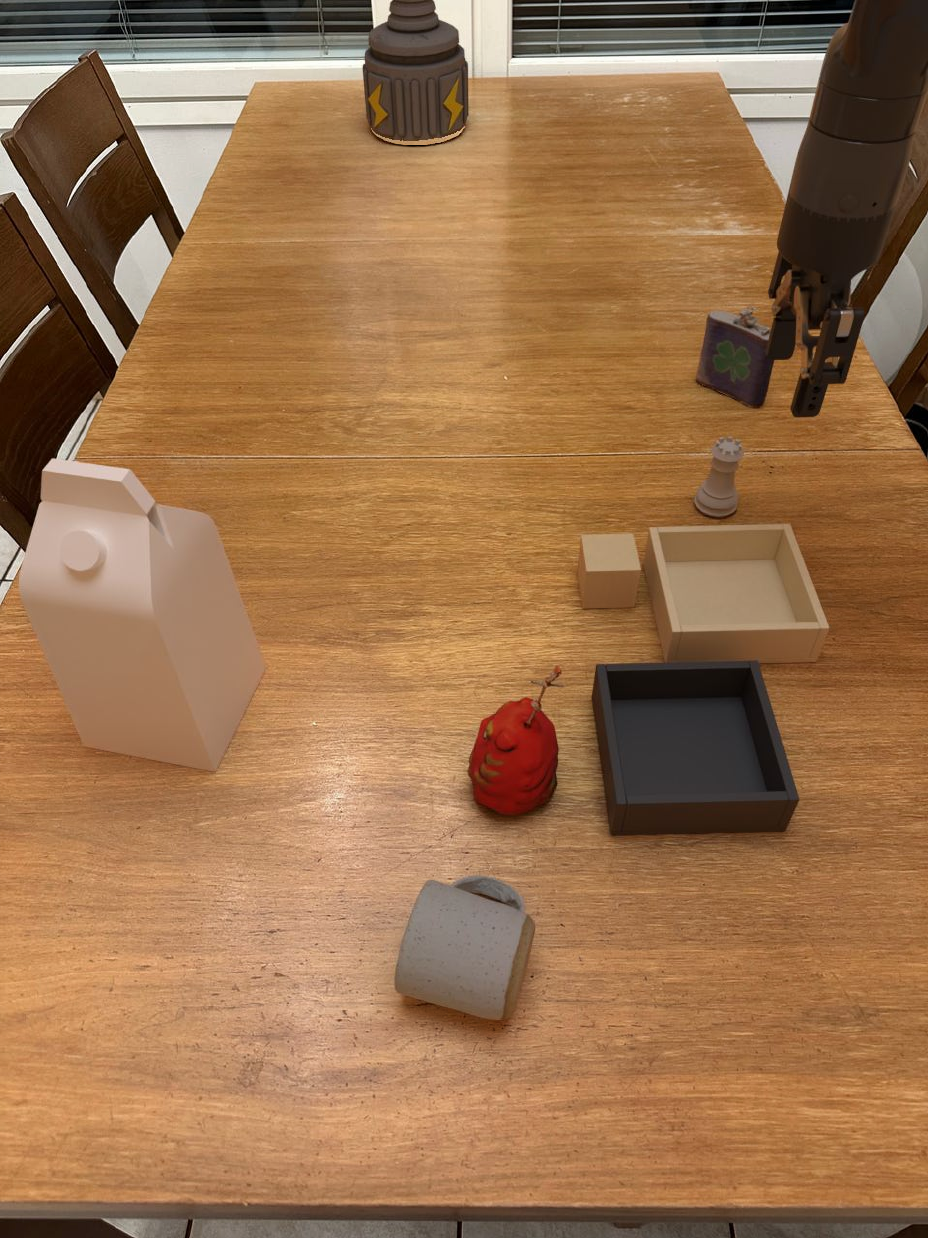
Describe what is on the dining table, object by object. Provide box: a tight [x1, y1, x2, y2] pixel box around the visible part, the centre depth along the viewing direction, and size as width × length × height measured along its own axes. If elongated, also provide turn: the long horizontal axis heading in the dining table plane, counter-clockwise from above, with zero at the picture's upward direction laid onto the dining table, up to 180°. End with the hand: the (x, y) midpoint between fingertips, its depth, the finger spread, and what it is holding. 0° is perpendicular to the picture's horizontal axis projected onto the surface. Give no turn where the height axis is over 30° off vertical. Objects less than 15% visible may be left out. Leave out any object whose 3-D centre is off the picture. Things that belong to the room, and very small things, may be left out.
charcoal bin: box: [591, 660, 800, 836], centre depth 76 cm, size 14×14×5 cm
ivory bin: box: [642, 523, 830, 664], centre depth 88 cm, size 14×14×5 cm
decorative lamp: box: [361, 0, 470, 141], centre depth 162 cm, size 19×19×30 cm
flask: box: [695, 305, 775, 409], centre depth 110 cm, size 9×3×11 cm, turn 46°
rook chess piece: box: [693, 435, 745, 519], centre depth 97 cm, size 4×4×8 cm
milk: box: [17, 457, 267, 773], centre depth 73 cm, size 12×12×26 cm
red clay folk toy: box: [467, 665, 564, 816], centre depth 71 cm, size 8×7×15 cm
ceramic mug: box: [394, 874, 536, 1021], centre depth 64 cm, size 11×8×8 cm
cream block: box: [576, 533, 642, 610], centre depth 90 cm, size 5×5×5 cm
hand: (790, 385), depth 80 cm, fingers open, 8 cm apart
